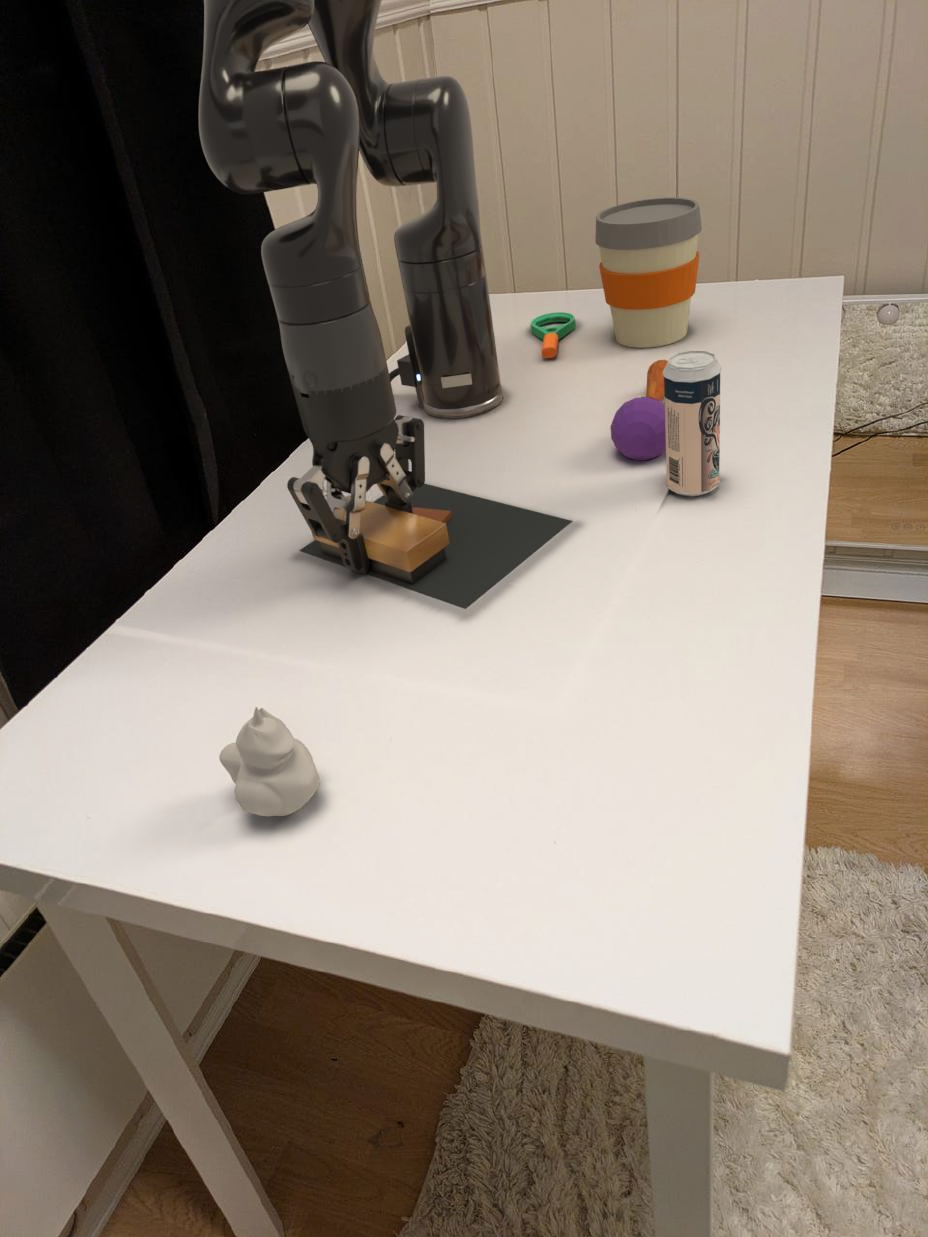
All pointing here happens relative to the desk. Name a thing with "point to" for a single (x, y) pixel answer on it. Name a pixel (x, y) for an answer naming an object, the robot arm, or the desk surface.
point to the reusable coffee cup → (649, 268)
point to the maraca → (643, 420)
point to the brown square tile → (433, 514)
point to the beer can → (692, 422)
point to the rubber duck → (270, 767)
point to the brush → (398, 542)
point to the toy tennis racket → (552, 330)
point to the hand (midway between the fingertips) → (382, 553)
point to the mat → (471, 544)
